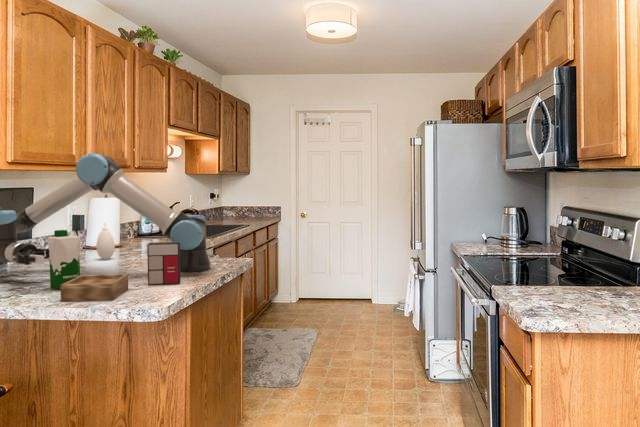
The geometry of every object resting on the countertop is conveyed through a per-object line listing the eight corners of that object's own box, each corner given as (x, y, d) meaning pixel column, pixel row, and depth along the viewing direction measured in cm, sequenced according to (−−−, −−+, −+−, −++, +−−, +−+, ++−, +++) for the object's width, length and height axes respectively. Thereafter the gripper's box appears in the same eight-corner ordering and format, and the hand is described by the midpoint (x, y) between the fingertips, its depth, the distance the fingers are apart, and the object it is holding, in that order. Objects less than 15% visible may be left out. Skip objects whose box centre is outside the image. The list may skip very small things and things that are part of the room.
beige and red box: (147, 285, 166) (146, 244, 165) (149, 283, 170) (148, 242, 169) (179, 284, 168) (178, 243, 167) (180, 282, 172) (180, 241, 172)
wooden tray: (128, 289, 160) (128, 274, 160) (113, 300, 145) (112, 283, 144) (81, 290, 158) (80, 275, 158) (60, 301, 143) (60, 284, 143)
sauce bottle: (93, 260, 223) (92, 222, 222) (107, 257, 230) (106, 221, 229) (104, 261, 219) (103, 223, 218) (118, 259, 226) (117, 222, 225)
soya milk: (71, 283, 169) (69, 229, 168) (85, 286, 164) (83, 230, 163) (46, 288, 162) (44, 231, 161) (59, 291, 157) (57, 232, 156)
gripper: (54, 258, 183) (92, 262, 174) (-14, 269, 160) (26, 273, 151) (53, 239, 182) (91, 242, 173) (-15, 247, 159) (25, 251, 151)
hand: (61, 257), depth 162 cm, fingers open, 13 cm apart
